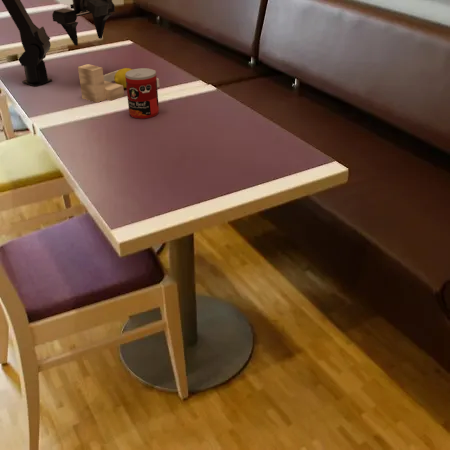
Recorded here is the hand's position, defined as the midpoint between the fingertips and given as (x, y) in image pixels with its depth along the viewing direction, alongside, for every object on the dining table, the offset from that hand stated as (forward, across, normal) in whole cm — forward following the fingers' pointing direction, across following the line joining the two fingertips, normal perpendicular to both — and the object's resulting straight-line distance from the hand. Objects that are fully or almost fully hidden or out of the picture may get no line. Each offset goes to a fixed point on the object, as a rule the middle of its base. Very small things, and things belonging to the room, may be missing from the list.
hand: (88, 41), depth 179 cm
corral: (+12, +2, -12) cm, 17 cm away
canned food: (+12, -10, -31) cm, 35 cm away
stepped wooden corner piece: (+12, -8, -12) cm, 18 cm away
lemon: (+9, -2, -12) cm, 15 cm away
